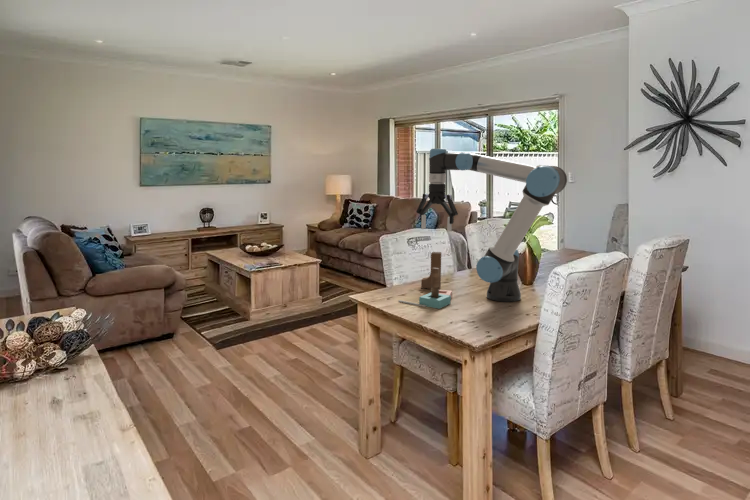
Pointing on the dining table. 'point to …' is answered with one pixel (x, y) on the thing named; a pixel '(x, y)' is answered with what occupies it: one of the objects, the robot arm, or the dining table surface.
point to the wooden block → (434, 264)
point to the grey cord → (412, 303)
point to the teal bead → (435, 300)
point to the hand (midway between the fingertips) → (436, 229)
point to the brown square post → (435, 283)
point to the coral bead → (445, 292)
